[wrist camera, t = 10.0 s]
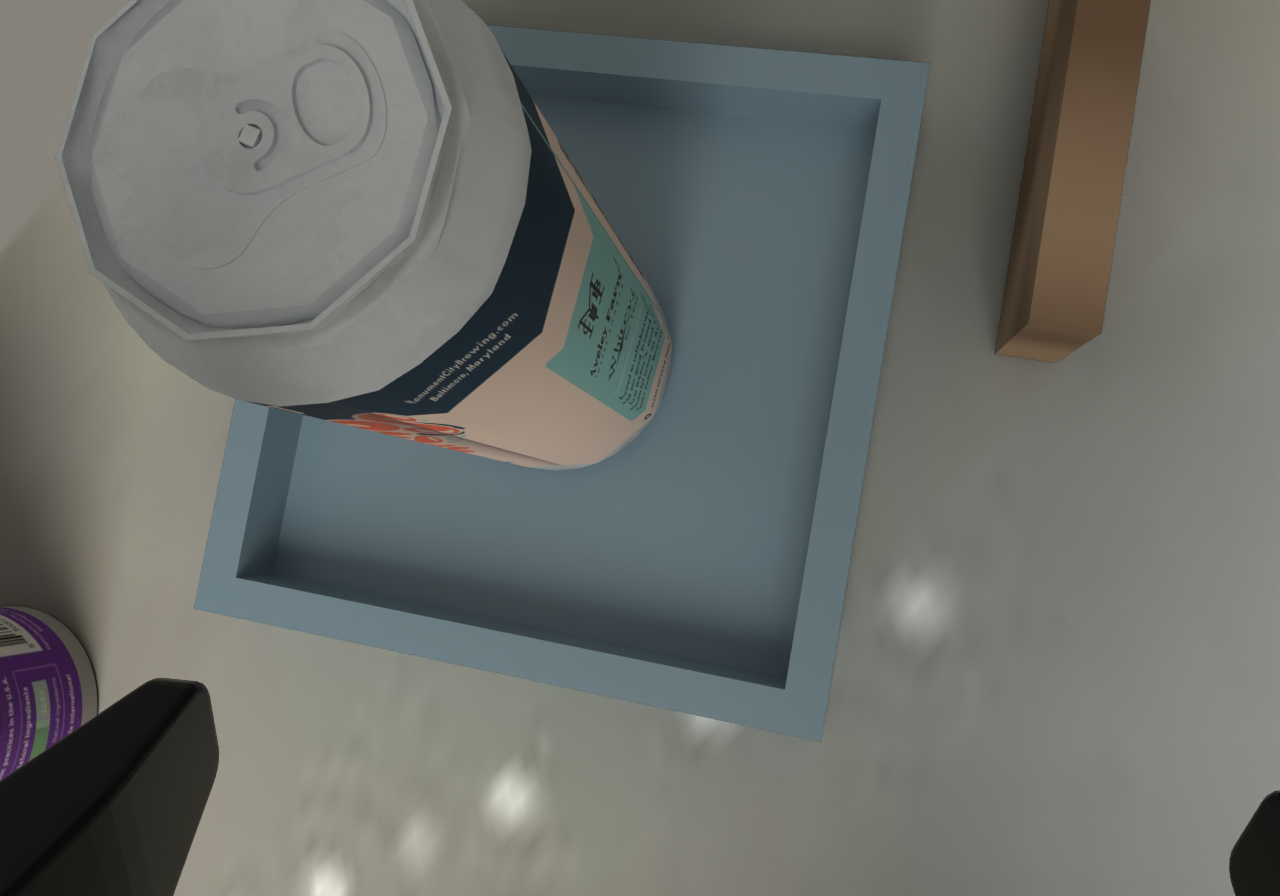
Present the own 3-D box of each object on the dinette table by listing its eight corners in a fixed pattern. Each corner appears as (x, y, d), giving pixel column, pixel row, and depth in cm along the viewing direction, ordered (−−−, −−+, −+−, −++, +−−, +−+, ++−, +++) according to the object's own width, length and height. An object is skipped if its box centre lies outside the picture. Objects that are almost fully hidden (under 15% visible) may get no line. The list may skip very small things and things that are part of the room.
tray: (819, 720, 20) (821, 741, 18) (248, 602, 22) (193, 608, 20) (917, 108, 20) (930, 63, 18) (354, 55, 23) (312, 10, 21)
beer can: (429, 302, 21) (-36, 17, 10) (628, 216, 21) (396, -202, 9) (501, 505, 21) (95, 470, 9) (708, 422, 20) (572, 267, 8)
